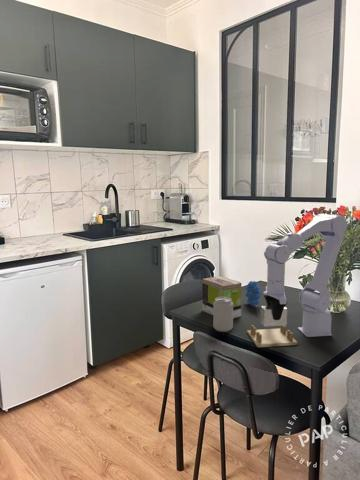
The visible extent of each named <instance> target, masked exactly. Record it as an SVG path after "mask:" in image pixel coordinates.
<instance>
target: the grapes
mask: <svg viewBox="0 0 360 480" xmlns="http://www.w3.org/2000/svg"><path fill="white" fill-rule="evenodd" d="M245 290H246V293H245V295H244V296H245V298H247V300H246V302H247V303H248V305H250V306H251V307H255V306H256V305H259V303H260V298H261V297H262V291H261V286H259V285H258V282H257V281H255V280H253V281H252V280H251V281H249V282H248V283H247V285H246V287H245Z"/></svg>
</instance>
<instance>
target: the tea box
mask: <svg viewBox="0 0 360 480" xmlns="http://www.w3.org/2000/svg"><path fill="white" fill-rule="evenodd" d="M201 287H202V288H201V289H202V311H203V312H205V313H207V314H209V315H211V316H213V302H214V301H215V298H217V297H228V298H231V301H232V302H233V319H236V318H240V317H241V316H242V282H240V281H237V280H233V279H231V278H228V277H224V276H222V275H218V276H211V277H207V278H202V286H201Z"/></svg>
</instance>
